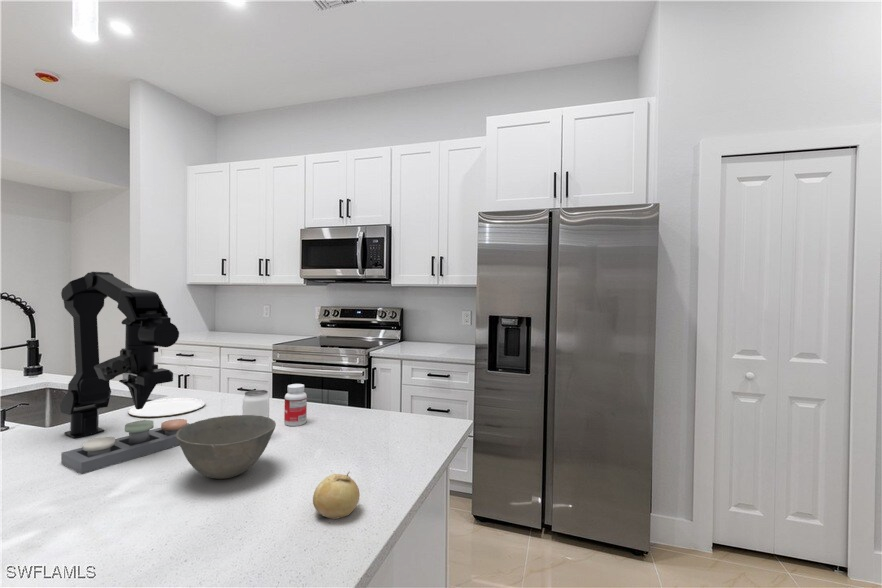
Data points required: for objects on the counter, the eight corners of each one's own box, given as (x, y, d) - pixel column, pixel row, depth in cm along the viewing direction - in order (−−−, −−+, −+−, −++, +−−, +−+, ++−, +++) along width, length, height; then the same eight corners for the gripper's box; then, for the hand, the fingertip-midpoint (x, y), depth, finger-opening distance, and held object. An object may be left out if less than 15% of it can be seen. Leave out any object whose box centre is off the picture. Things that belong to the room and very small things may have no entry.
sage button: (120, 442, 100) (120, 424, 100) (146, 435, 105) (146, 418, 105) (131, 447, 97) (132, 429, 97) (158, 439, 102) (158, 422, 102)
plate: (110, 417, 127) (110, 412, 127) (166, 399, 147) (166, 395, 147) (170, 422, 123) (170, 417, 123) (219, 403, 144) (219, 399, 144)
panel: (61, 463, 92) (61, 452, 92) (183, 430, 115) (183, 421, 115) (81, 474, 87) (81, 462, 87) (204, 437, 110) (204, 428, 110)
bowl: (170, 504, 76) (170, 449, 76) (179, 465, 93) (180, 420, 93) (280, 484, 85) (280, 434, 85) (270, 451, 102) (271, 410, 101)
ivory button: (78, 461, 93) (78, 442, 93) (108, 453, 98) (108, 435, 98) (89, 466, 90) (89, 447, 90) (119, 458, 95) (119, 439, 95)
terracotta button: (156, 439, 107) (156, 423, 107) (179, 433, 112) (179, 417, 112) (168, 444, 104) (168, 427, 104) (191, 437, 109) (191, 421, 109)
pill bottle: (286, 420, 126) (287, 383, 126) (307, 419, 127) (308, 383, 127) (282, 427, 120) (282, 388, 120) (304, 426, 121) (305, 387, 120)
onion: (315, 529, 70) (316, 486, 69) (310, 506, 77) (310, 467, 77) (363, 519, 73) (364, 478, 73) (354, 498, 80) (354, 460, 80)
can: (258, 443, 107) (259, 396, 107) (236, 441, 108) (237, 394, 108) (273, 434, 113) (274, 390, 113) (252, 432, 114) (253, 388, 114)
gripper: (81, 344, 99) (80, 410, 99) (120, 351, 89) (118, 424, 89) (135, 339, 108) (134, 400, 108) (175, 346, 99) (173, 412, 99)
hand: (139, 408), depth 101 cm, fingers closed
